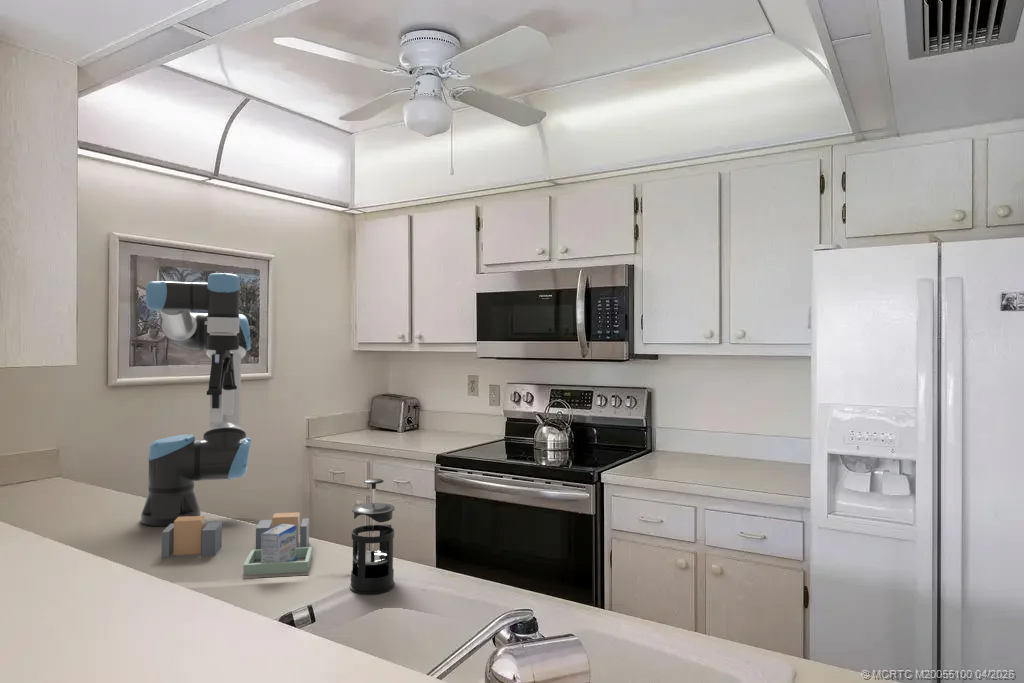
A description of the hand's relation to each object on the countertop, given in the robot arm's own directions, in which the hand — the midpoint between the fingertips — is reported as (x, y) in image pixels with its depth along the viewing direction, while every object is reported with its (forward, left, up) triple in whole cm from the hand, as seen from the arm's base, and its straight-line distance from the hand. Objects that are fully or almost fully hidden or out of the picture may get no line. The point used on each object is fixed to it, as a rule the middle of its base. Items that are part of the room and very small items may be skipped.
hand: (222, 418), depth 173 cm
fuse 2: (+10, +17, -31) cm, 36 cm away
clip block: (+10, +6, -32) cm, 34 cm away
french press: (+36, +38, -32) cm, 61 cm away
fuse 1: (+10, -5, -31) cm, 33 cm away
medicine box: (+22, +17, -31) cm, 42 cm away
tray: (+22, +17, -32) cm, 42 cm away
